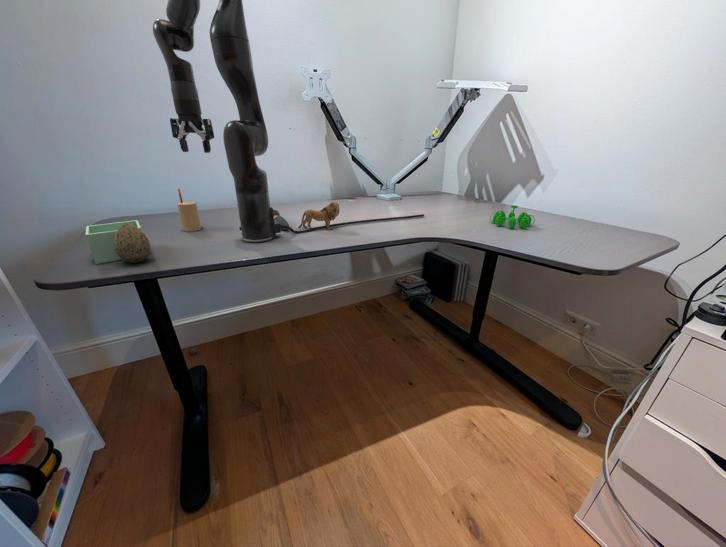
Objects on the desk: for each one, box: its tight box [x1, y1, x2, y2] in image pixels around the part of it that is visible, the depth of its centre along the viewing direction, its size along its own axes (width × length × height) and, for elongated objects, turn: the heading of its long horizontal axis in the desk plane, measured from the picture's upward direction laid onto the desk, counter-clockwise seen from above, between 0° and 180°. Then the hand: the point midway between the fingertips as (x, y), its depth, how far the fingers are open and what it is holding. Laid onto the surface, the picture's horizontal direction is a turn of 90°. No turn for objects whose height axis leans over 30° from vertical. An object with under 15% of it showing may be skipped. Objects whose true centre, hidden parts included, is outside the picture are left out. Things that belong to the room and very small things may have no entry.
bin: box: [84, 219, 143, 265], centre depth 82 cm, size 11×10×8 cm
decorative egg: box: [114, 223, 151, 264], centre depth 76 cm, size 7×7×10 cm
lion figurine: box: [297, 201, 341, 231], centre depth 107 cm, size 15×5×9 cm, turn 103°
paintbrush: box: [273, 208, 290, 231], centre depth 112 cm, size 20×5×5 cm, turn 38°
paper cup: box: [177, 188, 202, 233], centre depth 104 cm, size 6×6×14 cm
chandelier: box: [489, 205, 536, 230], centre depth 114 cm, size 15×15×7 cm
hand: (196, 152), depth 107 cm, fingers open, 8 cm apart
